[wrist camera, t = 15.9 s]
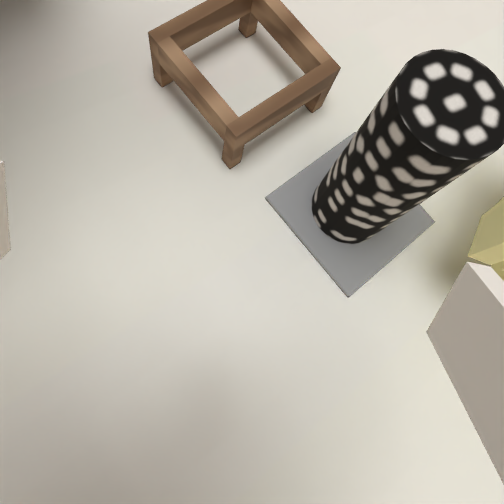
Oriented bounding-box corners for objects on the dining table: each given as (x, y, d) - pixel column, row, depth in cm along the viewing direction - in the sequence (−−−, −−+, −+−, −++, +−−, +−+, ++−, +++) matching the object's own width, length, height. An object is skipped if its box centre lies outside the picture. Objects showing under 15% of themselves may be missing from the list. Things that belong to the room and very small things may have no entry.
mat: (265, 198, 46) (265, 197, 46) (354, 133, 50) (355, 131, 50) (347, 297, 45) (349, 296, 44) (433, 223, 48) (435, 221, 48)
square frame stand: (154, 77, 48) (148, 32, 41) (247, 24, 52) (256, -27, 45) (229, 169, 47) (236, 137, 40) (320, 106, 50) (340, 67, 43)
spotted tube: (359, 163, 49) (469, 35, 29) (395, 226, 47) (535, 133, 28) (298, 190, 47) (372, 70, 27) (333, 255, 45) (438, 178, 26)
